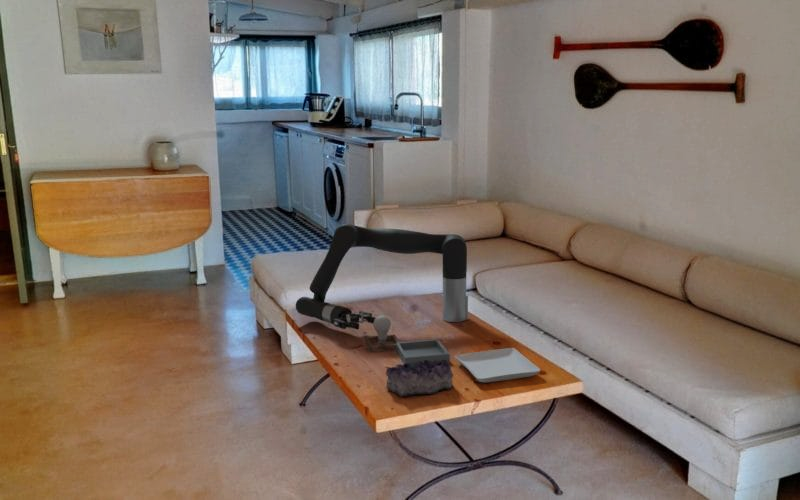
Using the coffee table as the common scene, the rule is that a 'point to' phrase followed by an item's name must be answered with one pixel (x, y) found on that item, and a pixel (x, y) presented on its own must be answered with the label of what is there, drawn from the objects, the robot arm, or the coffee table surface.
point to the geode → (419, 378)
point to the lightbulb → (382, 328)
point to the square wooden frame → (381, 347)
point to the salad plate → (498, 365)
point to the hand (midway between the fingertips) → (367, 323)
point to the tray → (422, 351)
